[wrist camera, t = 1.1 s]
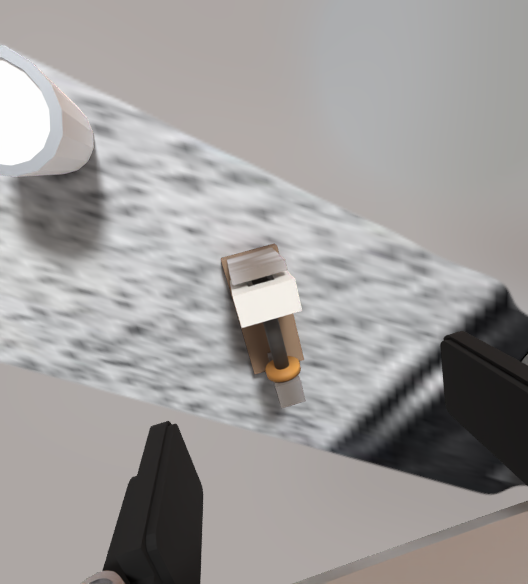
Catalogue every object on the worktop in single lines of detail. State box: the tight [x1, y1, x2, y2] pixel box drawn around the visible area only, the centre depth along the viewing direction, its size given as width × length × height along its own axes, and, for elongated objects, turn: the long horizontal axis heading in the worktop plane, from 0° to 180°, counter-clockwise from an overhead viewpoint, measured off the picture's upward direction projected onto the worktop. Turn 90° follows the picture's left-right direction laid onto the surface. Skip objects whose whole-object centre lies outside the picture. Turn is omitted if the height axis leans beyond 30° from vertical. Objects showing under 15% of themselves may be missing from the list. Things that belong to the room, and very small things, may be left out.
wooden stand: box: [221, 244, 306, 408], centre depth 27 cm, size 5×12×8 cm, turn 14°
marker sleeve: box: [230, 270, 302, 328], centre depth 24 cm, size 4×2×4 cm, turn 104°
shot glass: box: [0, 45, 94, 177], centre depth 21 cm, size 7×7×7 cm
